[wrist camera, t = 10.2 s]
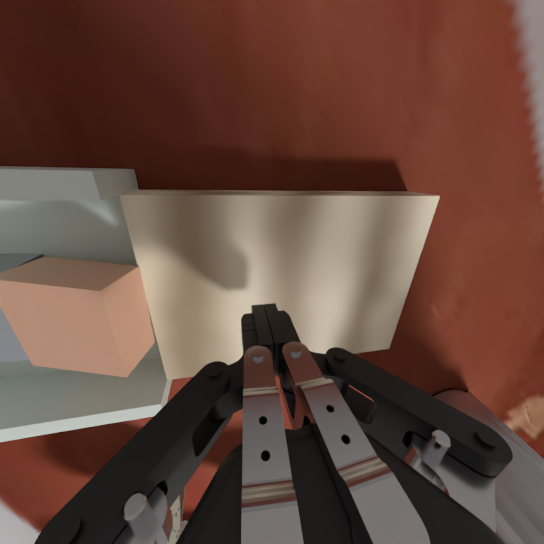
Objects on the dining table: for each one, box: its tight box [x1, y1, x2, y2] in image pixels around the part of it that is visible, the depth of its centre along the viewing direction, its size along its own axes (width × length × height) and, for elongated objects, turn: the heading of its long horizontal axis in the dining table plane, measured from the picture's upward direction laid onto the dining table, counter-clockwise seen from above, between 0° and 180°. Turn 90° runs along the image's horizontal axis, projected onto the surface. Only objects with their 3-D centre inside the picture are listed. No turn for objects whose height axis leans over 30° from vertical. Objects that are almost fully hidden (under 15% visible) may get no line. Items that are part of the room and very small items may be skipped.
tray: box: [0, 166, 172, 442], centre depth 14 cm, size 16×16×5 cm
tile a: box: [0, 256, 155, 377], centre depth 13 cm, size 6×6×3 cm
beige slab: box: [119, 190, 440, 380], centre depth 18 cm, size 20×14×3 cm
